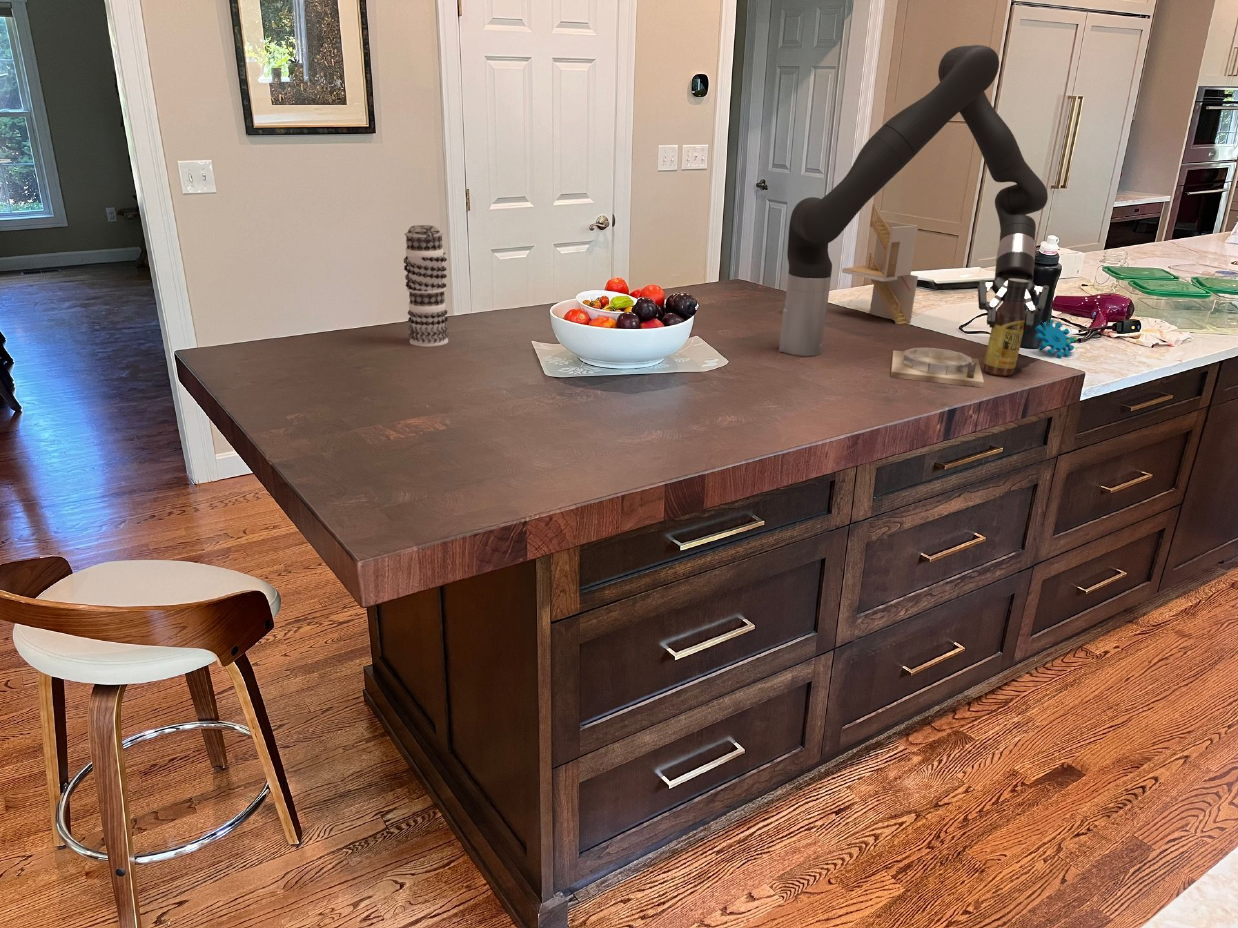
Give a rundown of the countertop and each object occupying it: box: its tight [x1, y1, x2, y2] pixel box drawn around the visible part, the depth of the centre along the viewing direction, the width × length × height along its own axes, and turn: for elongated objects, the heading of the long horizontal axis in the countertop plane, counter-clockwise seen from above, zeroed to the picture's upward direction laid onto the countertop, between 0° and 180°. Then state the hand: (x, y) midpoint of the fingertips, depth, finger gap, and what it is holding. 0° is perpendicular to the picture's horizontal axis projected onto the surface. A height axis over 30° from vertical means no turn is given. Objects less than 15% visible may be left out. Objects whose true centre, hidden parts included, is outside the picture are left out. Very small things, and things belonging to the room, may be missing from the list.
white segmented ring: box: [903, 347, 976, 378], centre depth 188 cm, size 14×14×3 cm
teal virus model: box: [1035, 318, 1078, 359], centre depth 206 cm, size 11×6×10 cm
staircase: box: [841, 203, 919, 325], centre depth 228 cm, size 10×16×29 cm, turn 36°
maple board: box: [890, 350, 985, 388], centre depth 189 cm, size 18×18×1 cm
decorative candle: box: [403, 224, 449, 348], centre depth 193 cm, size 9×9×25 cm
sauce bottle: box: [983, 278, 1029, 377], centre depth 186 cm, size 7×6×20 cm
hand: (1009, 327), depth 184 cm, fingers closed on sauce bottle, 6 cm apart
